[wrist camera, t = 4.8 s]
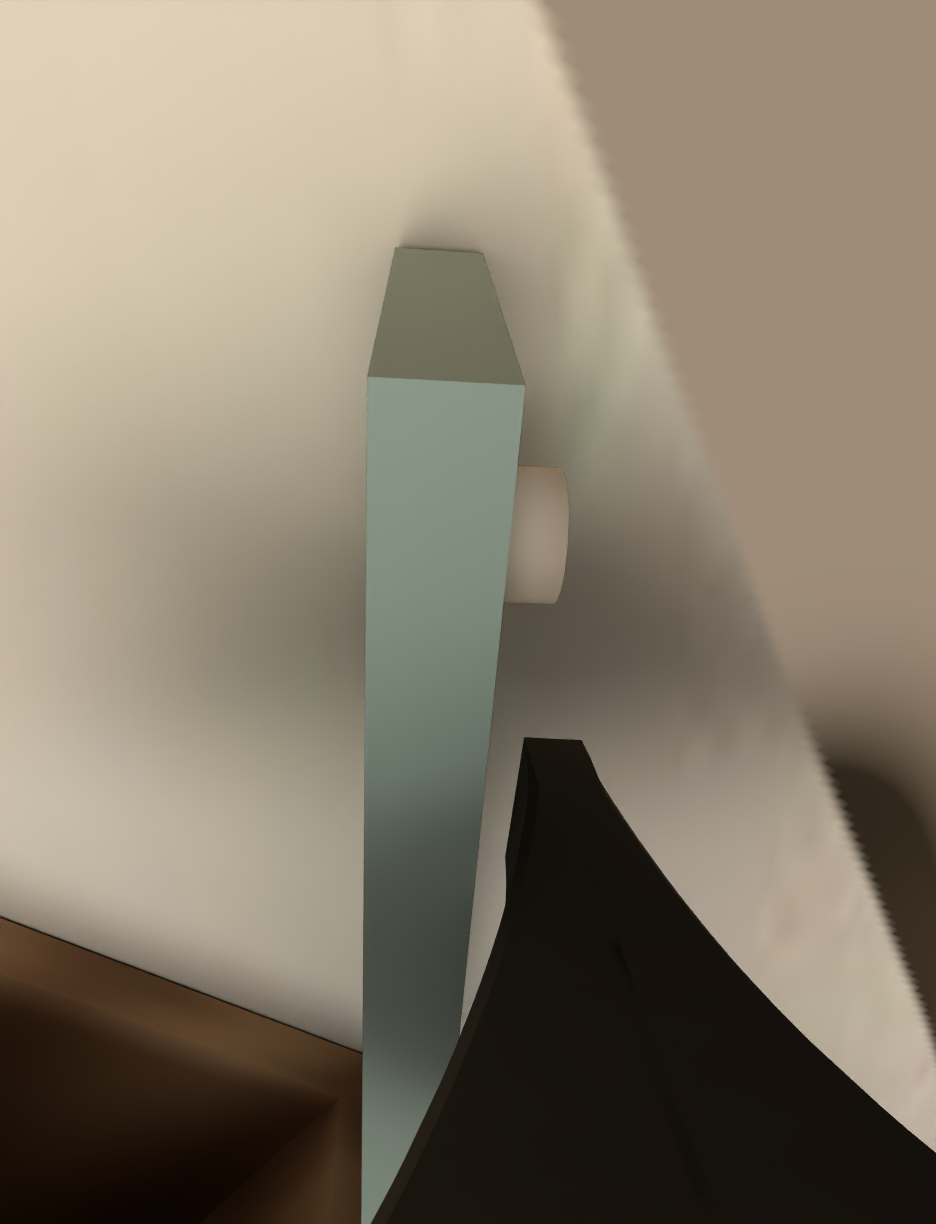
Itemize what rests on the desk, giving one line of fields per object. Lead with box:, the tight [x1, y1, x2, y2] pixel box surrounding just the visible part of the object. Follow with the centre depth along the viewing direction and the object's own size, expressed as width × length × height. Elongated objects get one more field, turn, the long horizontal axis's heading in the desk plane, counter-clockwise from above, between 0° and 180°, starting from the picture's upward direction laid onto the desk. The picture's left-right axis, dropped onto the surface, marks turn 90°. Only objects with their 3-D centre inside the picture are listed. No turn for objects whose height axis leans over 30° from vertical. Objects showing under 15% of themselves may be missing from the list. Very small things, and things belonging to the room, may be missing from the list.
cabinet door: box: [361, 247, 569, 1224], centre depth 12 cm, size 16×2×5 cm, turn 176°
